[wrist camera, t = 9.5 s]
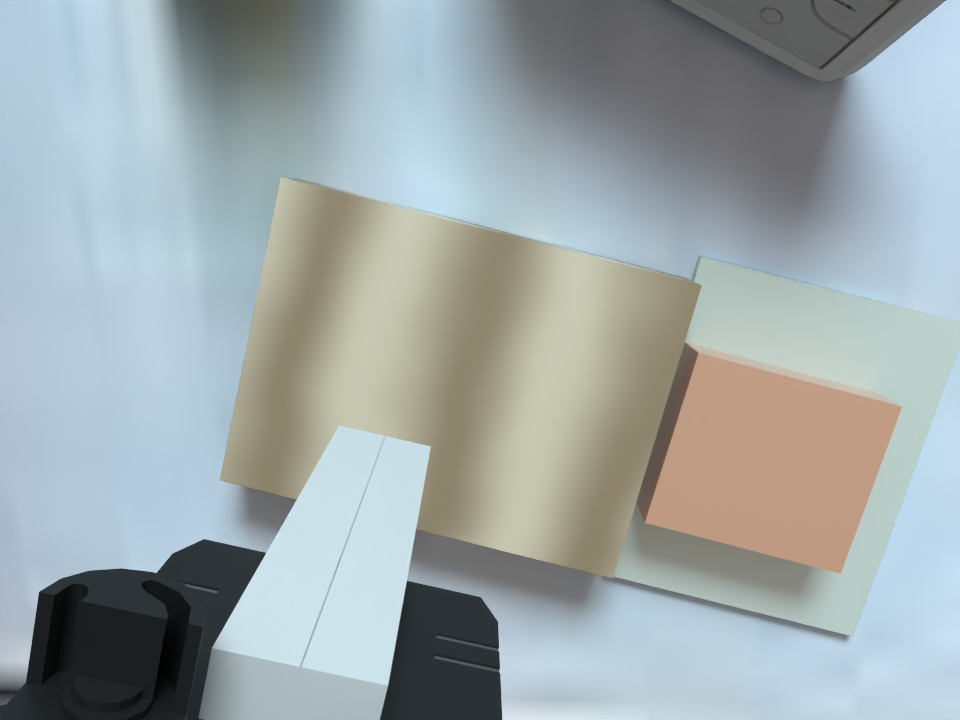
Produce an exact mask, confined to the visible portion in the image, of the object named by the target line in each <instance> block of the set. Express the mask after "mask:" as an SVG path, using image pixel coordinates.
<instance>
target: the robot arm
mask: <svg viewBox="0 0 960 720" xmlns="http://www.w3.org/2000/svg"><path fill="white" fill-rule="evenodd" d="M430 449H431V446H427V445H423V444H418V443H414V442H409V441H405V440H401V439H396V438H392V437H388V436H383V435H379V434H375V433H370V432H366V431H362V430H357V429H353V428H349V427H344V426H340V425H339V427H338V428H337V430H336V432H335V434H334V435H333V437H332V439H331V441H330V442H329V444H328V446H327V448H326V449H325V451H324V453H323V455H322V456H321V458H320V460H319V462H318V463H317V465H316V467H315V469H314V470H313V472H312V474H311V476H310V477H309V479H308V481H307V483H306V484H305V486H304V488H303V490H302V491H301V493H300V495H299V497H298V498H297V500H296V502H295V504H294V505H293V507H292V509H291V511H290V512H289V514H288V516H287V518H286V519H285V521H284V523H283V525H282V526H281V528H280V530H279V532H278V533H277V535H276V537H275V539H274V540H273V542H272V544H271V546H270V547H269V549H268V551H267V553H264V552H259V551H255V550H250V549H246V548H241V547H237V546H232V545H228V544H223V543H219V542H214V541H210V540H205V539H204V540H201V541H199V542H197V543H195V544H193V545H191V546H188V547H186V548H184V549H182V550H180V551H177V552H175V553H173V554H172V555H171V556H170V558H169V559H168V560H167V561H166V562H165V564H164V565H163V566H162V567H161V569H160V570H159V571H158V572H157V573H153V572H146V571H138V570H129V569H109V570H94V571H87V572H83V573H80V574H76V575H73V576H69V577H65V578H62V579H60V580H58V581H56V582H55V583H53V584H51V585H50V586H48V587H47V588H45V589H43V590H42V591H40V592H39V597H38V604H37V611H36V618H35V625H34V632H33V639H32V646H31V652H30V659H29V666H28V673H27V680H26V683H25V684H24V686H23V687H22V688H21V689H20V690H19V691H18V692H17V693H16V694H15V696H14V697H13V698H12V699H11V700H10V701H9V702H8V703H7V704H6V705H1V706H0V720H502V706H501V683H500V673H499V669H500V661H499V651H498V648H499V638H498V621H497V620H496V619H495V617H494V616H493V614H492V613H491V611H490V610H489V608H488V607H487V606H486V604H485V603H484V601H483V600H482V598H481V597H477V596H473V595H468V594H463V593H459V592H454V591H450V590H445V589H441V588H436V587H432V586H427V585H423V584H418V583H414V582H409V581H407V577H408V571H409V566H410V560H411V555H412V549H413V544H414V538H415V532H416V527H417V521H418V516H419V510H420V504H421V499H422V493H423V488H424V482H425V477H426V471H427V465H428V460H429V454H430Z"/></svg>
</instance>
